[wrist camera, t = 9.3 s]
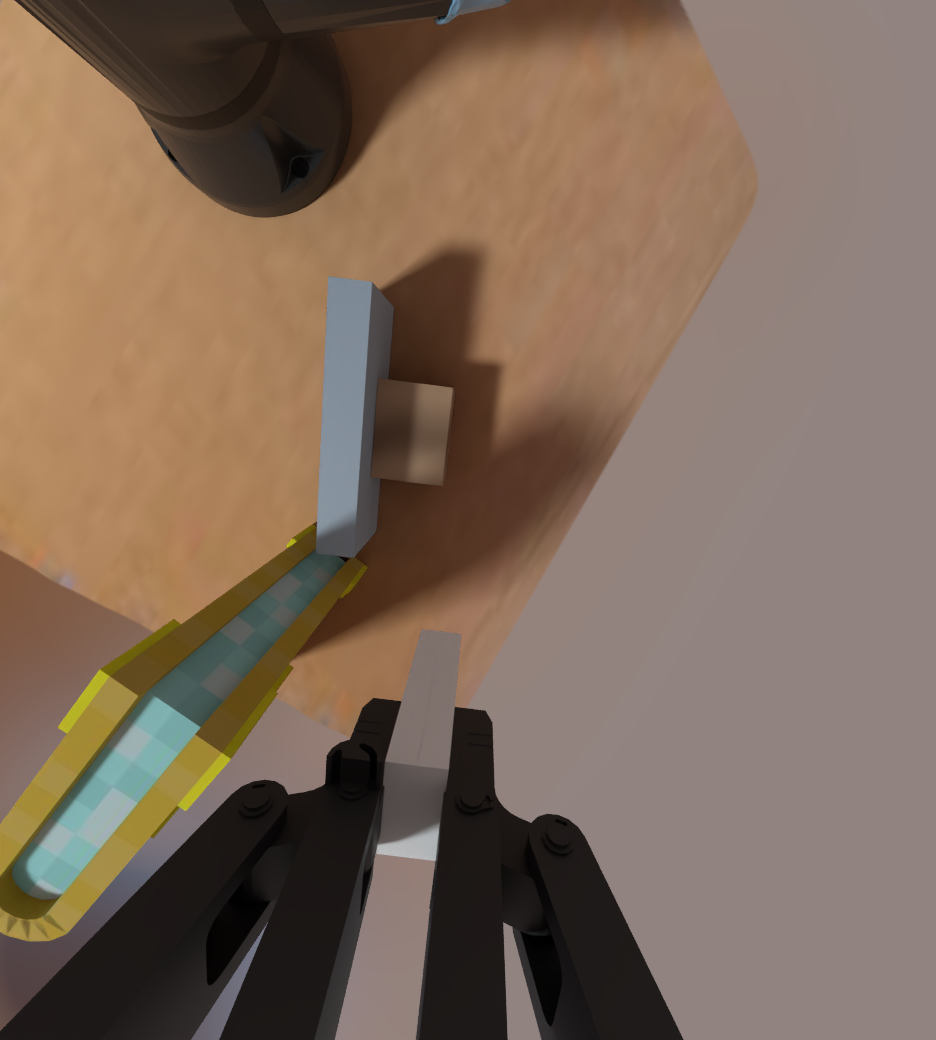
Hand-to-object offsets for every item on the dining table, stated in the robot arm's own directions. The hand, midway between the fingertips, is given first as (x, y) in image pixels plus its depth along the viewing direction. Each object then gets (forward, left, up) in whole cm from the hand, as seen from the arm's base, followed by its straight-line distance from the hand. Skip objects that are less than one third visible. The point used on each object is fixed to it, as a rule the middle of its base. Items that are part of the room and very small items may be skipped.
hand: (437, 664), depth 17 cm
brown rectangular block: (-7, -5, -27) cm, 28 cm away
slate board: (-7, -10, -26) cm, 29 cm away
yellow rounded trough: (+12, -16, -27) cm, 33 cm away
